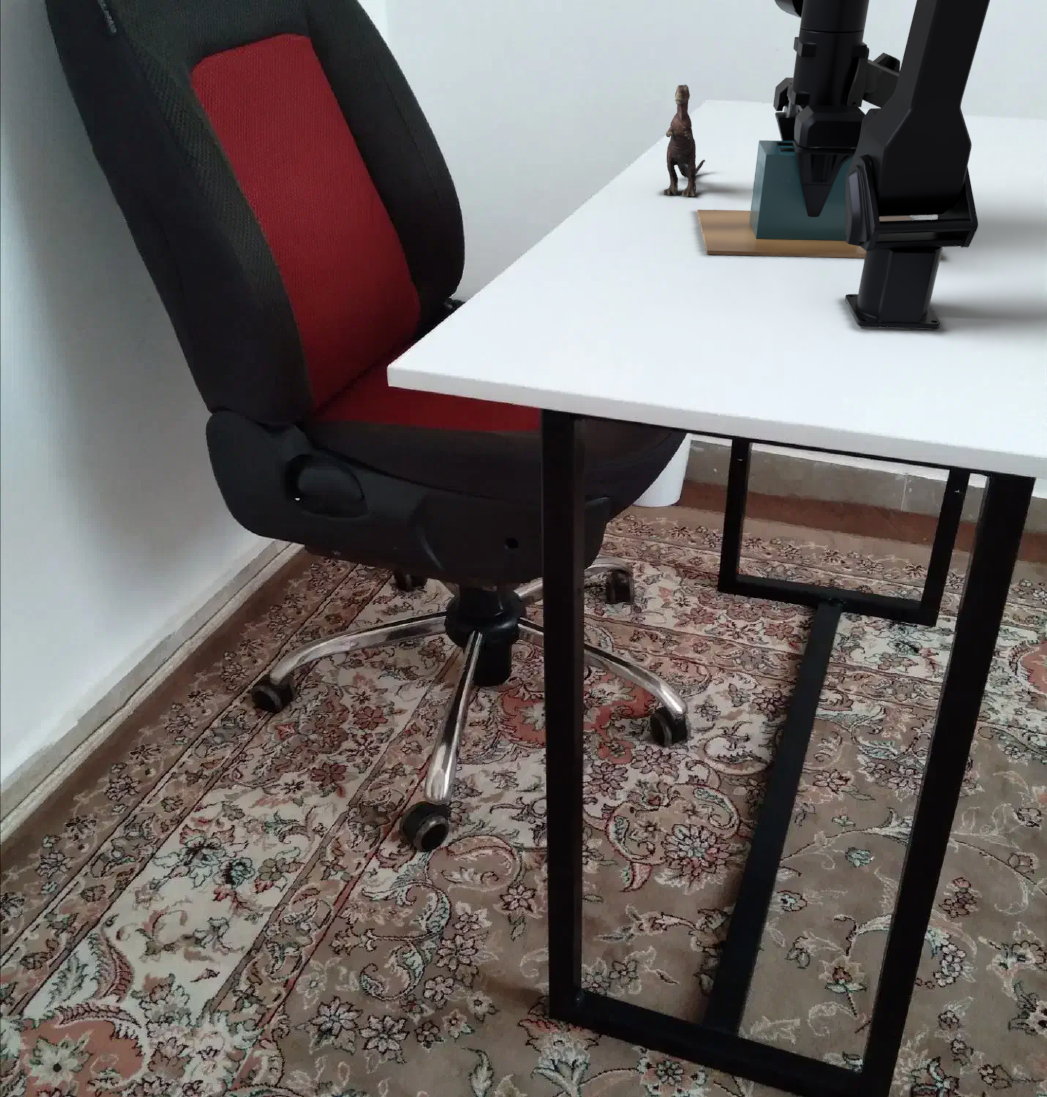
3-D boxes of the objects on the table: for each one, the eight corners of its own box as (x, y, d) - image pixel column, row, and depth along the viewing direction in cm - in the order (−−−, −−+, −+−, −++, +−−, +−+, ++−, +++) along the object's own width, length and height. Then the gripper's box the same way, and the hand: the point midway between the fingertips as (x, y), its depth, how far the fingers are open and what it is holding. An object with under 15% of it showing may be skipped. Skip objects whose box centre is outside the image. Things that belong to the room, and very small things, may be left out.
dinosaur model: (668, 84, 108) (691, 70, 120) (653, 200, 114) (677, 175, 126) (706, 88, 107) (725, 74, 119) (689, 204, 113) (709, 179, 125)
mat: (941, 259, 98) (941, 255, 97) (706, 254, 99) (707, 250, 99) (906, 217, 109) (906, 213, 109) (696, 213, 111) (697, 209, 110)
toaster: (755, 239, 102) (766, 153, 97) (749, 221, 107) (758, 138, 102) (871, 241, 101) (887, 155, 96) (859, 223, 106) (874, 140, 101)
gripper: (950, 44, 86) (911, 233, 94) (898, 16, 101) (869, 180, 110) (814, 43, 86) (787, 230, 95) (783, 15, 102) (763, 178, 110)
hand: (805, 203), depth 102 cm, fingers open, 9 cm apart
